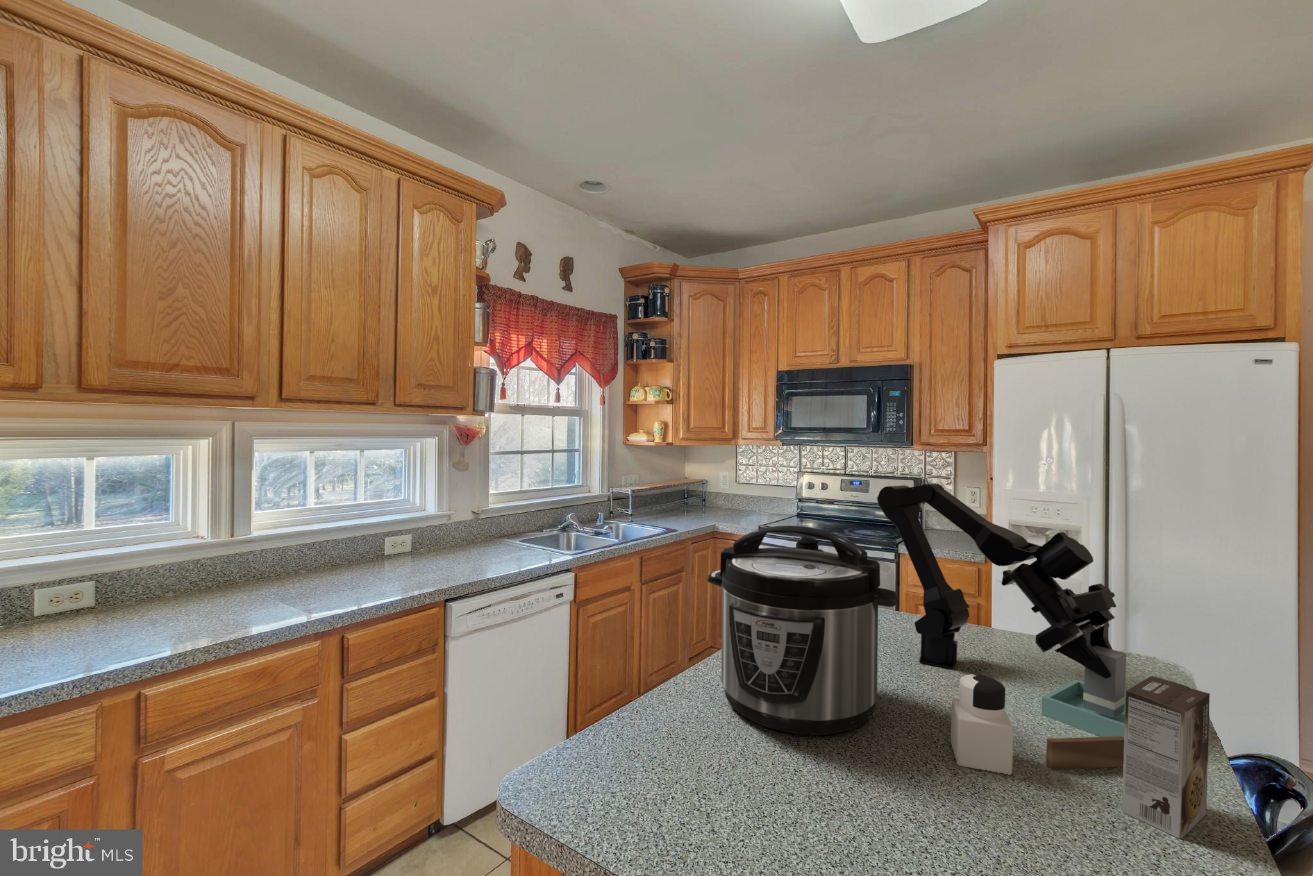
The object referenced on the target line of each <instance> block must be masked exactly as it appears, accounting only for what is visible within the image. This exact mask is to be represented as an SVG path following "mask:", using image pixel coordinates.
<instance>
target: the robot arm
mask: <svg viewBox="0 0 1313 876" xmlns="http://www.w3.org/2000/svg"><path fill="white" fill-rule="evenodd" d="M876 500H877V504H878V506H879V507H880V509H881V511H882V513H883V514H884V516H885V517H886V518H887V519H888V520H889V521H890V522H891V523H892V524H893V525H894V526H895V527H896V528H897V531H898V533H899V534H900V535H899V536H900V537H901V540H902V543H903V544H904V547H905V549H906V552H907V554H908V556H909V558H910V561H911V563H912V565H913V568H914V571H915V573H916V575H917V577H918V580H919V582H920V584H921V587H922V589H923V595H922V596H923V599H922V600H923V601H922V606H923V609H924V613H925V614H924V615H923V616H922V617H921V618H919V619H917V620H915V622H914V627H915V630H916V634H919V635H920V656H919V660H918V662H919V663H921V664H926V665H929V666H930V665H931V666H935V667H940V668H945V669H950V670H953V669H954V668H955V667H954V666H955V665H956V664H957V661H958V645H959V644H958V640H955V637H956V636H955V635H956V633H959V632H960V630H961V629H962V627H963V626H965V625H966V624H967V622H968V620H969V618H970V612H969V608H971V607H970V605H969V603H967V601H966V599H965V596H964V593H963V590H962V589H961V588H957V589H954V588H952V587H951V585H950V584H948V581H946V578H945V576H944V574H943V572H942V569H941V567H940V565H939V562H938V560H937V558H936V555H935V554H934V551H933V549H932V547H931V545H930V543H929V540H928V537H927V536H926V533H925V532H924V529H923V526H922V525H921V521H920V508H921V507H920V504H925V503H926V504H927V505H928V506H930V507H931V508H932V509H934V511H936V512H938V513H939V514H940V515H942V516H943V517H945V518H946V519H947V520H949V522H951V523H952V524H954V525H955V526H956V527H957V528H959V529H960V530H961V531H962V532H964V533H966V534H967V535H968V537H970V539H972V540H973V541H974V543H975V545H976V546H977V548H978V550H979V551H980V552H981V553H982V554H983V555H984V556H985V557H986V558H987V559H988V561H990V562H991V564H993V565H995V566H998V567H1008V566H1013V565H1016V564H1019V565H1018V566H1017V567H1016V568H1014V569H1012V570H1011V569H1006V570H1003V571H1002V579H1001V585H1002V586H1008V585H1012V584H1014V583H1015V584H1016V586H1017V587H1018V589H1020V591H1021V592H1022V593H1023V594H1024V595H1025V596H1026V597H1027V599H1028V600H1029V602H1030V603H1031V604H1032V605H1033V606H1032V607H1030V610H1032V612H1033V613H1034V614H1036V613H1039V614H1040V615H1041V616H1042V617H1043V618H1044V620H1046V622H1047V623H1048V624H1049V625H1050V626H1049V627H1047V628H1045V629H1044V630H1042V631H1040V632H1039V633H1038V634H1036V635H1035V644H1036V645H1037V647H1038V648H1039V649H1040V650H1041V652H1042V653H1046V652H1048V651H1050V650H1052V649H1053V648H1054V647H1055V646H1057V645H1059V646H1060V647H1058V648H1056V649H1055V650H1054V652H1056V653H1060V654H1061V655H1063V656H1065V657H1067V658H1068V659H1071V660H1072V661H1074V662H1076V663H1078V664H1080V665H1082V666H1083V667H1084V668H1085V667H1086V668H1088V669H1090V670H1092V671H1093V672H1095V673H1097V674H1098V675H1100V676H1102V677H1103V678H1109V677H1111V674H1110V672H1109V670H1108V669H1107V667H1106V666H1105V664H1104V663H1103V661H1102V660H1101V659H1100V657H1099V656H1098V654H1097V653H1096V651H1095V650H1094V649H1093V646H1096V645H1097V646H1101V647H1104V648H1108V649H1112V650H1114V649H1113V648H1112V645H1111V644H1110V640H1109V638H1108V630H1109V627H1110V623H1109V622H1110V621H1112V620H1114V619H1115V618H1116V617H1115V616H1114V615H1113V614H1112V613H1111V611H1110V610H1111V608H1116V607H1117V605H1116V602H1115V601H1114V599H1113V598H1115V597H1116V595H1115V593H1114V592H1113V591H1111V588H1110V587H1108V588H1107V587H1106V586H1105V585H1104V584H1102V583H1097V584H1091V585H1089V586H1088V589H1087V590H1088V591H1085V592H1083V593H1077V594H1076V593H1075V592H1074V591H1073V590H1072V589H1071V588H1070V589H1069V588H1067V587H1066V588H1065V589H1063V588H1062V586H1061V585H1060V584H1059V583H1058V582H1057V580H1056V579H1060V580H1064V581H1066V580H1068V579H1069V578H1071V577H1072V576H1074V575H1076V574H1077V573H1078V572H1080V571H1081V570H1083V569H1085V568H1086V567H1088V566H1089V565H1091V564H1092V563H1093V562H1094V558H1093V557H1094V556H1093V555H1092V553H1091V552H1090V551H1089V549H1088V548H1087V546H1085V545H1084V544H1082V543H1080V542H1079V541H1078V540H1076V539H1075V538H1073V537H1070V536H1068V535H1067V533H1066V532H1064V531H1060V532H1057V533H1056V534H1054V535H1053V536H1052V537H1051V538H1050V539H1049V540H1048V541H1047V542H1045V543H1044V544H1042V545H1039V544H1035V543H1032V542H1029V541H1028V540H1027V539H1026V538H1025V537H1023V536H1022V535H1020V534H1018V533H1016V532H1015V531H1012V530H1011V529H1008V528H1006V527H1003V526H1000V525H997V524H995V523H993V522H991V521H989V520H988V519H986V518H985V517H983V516H982V515H980V513H978V512H977V511H975V510H974V509H972V508H971V507H969V505H967V504H966V503H964V502H963V501H961V500H960V499H959V498H957V497H956V496H954V495H953V494H951V493H950V492H949V491H948V490H946V489H945V487H943V485H941V484H940V483H934V482H933V483H924V484H921V485H917V486H911V487H910V486H908V485H905V484H903V485H889V486H884V487H882V488H881V489H880V490H879V493H878V495H877V496H876ZM1033 559H1036V560H1035V561H1033V562H1031V563H1030V564H1029V563H1024V562H1026V561H1029V560H1033Z"/></svg>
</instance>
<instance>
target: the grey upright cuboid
mask: <svg viewBox="0 0 1313 876" xmlns="http://www.w3.org/2000/svg"><path fill="white" fill-rule="evenodd" d="M1093 649H1094V650H1095V651H1096V653H1097V654H1098V656H1099V657H1100V659H1101V660H1102V661H1103V663H1104V664H1105V666H1106V667H1107V669H1108V670H1109V672H1110V674H1111V677H1109V678H1103V677H1102V676H1100V675H1098V674H1097V673H1095V672H1093V671H1092V670H1090V669H1088V668H1086V667H1085V666H1084V678H1083V679H1084V681H1083V682H1084V693H1083V700H1084V703H1083V708H1086V709H1089V710H1092V711H1095V712H1098V713H1100V714H1103V715H1106V716H1109V717H1112V718H1115V717H1116V716H1118V715H1120V714H1121V713H1123V712H1124V704H1125V695H1126V674H1127V673H1126V669H1127V668H1126V667H1127V653H1125V652H1123V651H1118V650H1114V649H1113V648H1112V649H1113V650H1112V649H1108V648H1104V647H1101V646H1097V645H1096V646H1093Z"/></svg>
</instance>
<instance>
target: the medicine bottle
mask: <svg viewBox="0 0 1313 876" xmlns="http://www.w3.org/2000/svg"><path fill="white" fill-rule="evenodd" d="M958 687H959V688H958V689H959V690H958V694H959V695H958V698H952V699H951V718H950V720H951V724H950V743H951V747H952V750H953V751H952V752H953V753H954V754H953V755H954V757H955V761H956V764H957V765H958V766H959V767H965V768H969V767H970V768H969V769H975V770H980V769H981V771H985V770H987V771H986V772H990V771H991V773H996V772H997V774H1001V773H1003V774H1002V775H1007V774H1008V775H1009V776H1011V775H1012V774H1013V756H1014V755H1013V753H1014V752H1013V751H1014V727H1013V724H1012V722H1011V720H1010V718H1009V716H1008V714H1007V713H1006V711H1005V709H1006V687H1005V686H1004V684H1003V683H1001V682H1000V681H999V680H997V679H995V678H993V677H990V676H988V675H983V674H977V673H976V674H975V673H974V674H972V673H971V674H966V675H963V676H961V677H960V679H959V686H958ZM1008 775H1007V776H1008Z"/></svg>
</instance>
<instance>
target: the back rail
mask: <svg viewBox="0 0 1313 876" xmlns="http://www.w3.org/2000/svg"><path fill="white" fill-rule="evenodd" d="M1045 759H1046V760H1045V763H1046V764H1045V766H1046V765H1047V766H1046V767H1047V768H1049V767H1050V768H1051V769H1050V768H1049V769H1050V770H1062V769H1061V768H1072V769H1093V768H1095V769H1096V768H1097V769H1098V768H1099V769H1100V768H1118V767H1119V768H1123V765H1124V737H1122V736H1113V737H1101V736H1087V737H1083V736H1082V737H1060V738H1059V737H1058V738H1057V737H1056V738H1055V737H1053V738H1046V757H1045Z"/></svg>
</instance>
